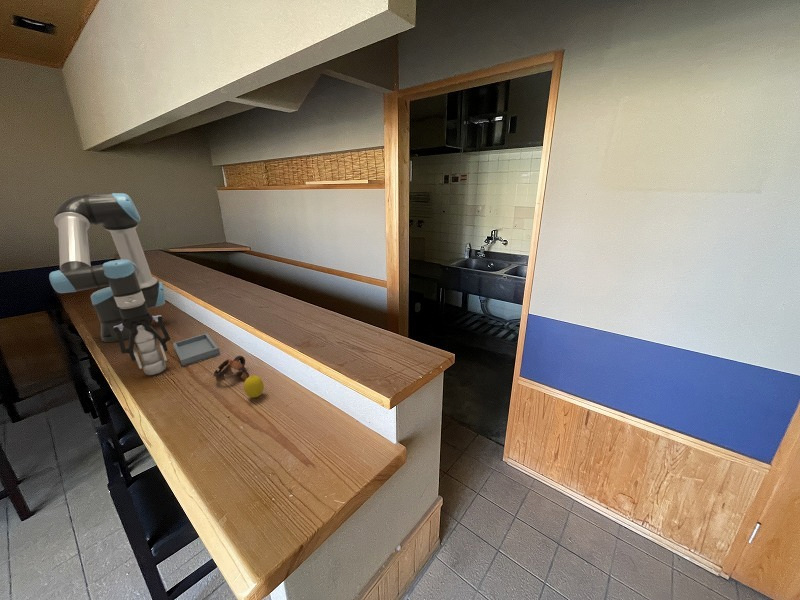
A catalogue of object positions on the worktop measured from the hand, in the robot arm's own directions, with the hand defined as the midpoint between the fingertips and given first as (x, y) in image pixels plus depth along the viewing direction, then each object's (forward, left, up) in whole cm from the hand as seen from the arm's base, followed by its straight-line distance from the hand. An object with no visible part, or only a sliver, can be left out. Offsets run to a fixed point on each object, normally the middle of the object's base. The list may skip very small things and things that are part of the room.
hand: (153, 363), depth 117 cm
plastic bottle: (0, 0, -4) cm, 4 cm away
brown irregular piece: (+25, +21, -4) cm, 33 cm away
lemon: (+43, +22, -4) cm, 48 cm away
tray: (-7, +14, -4) cm, 17 cm away
